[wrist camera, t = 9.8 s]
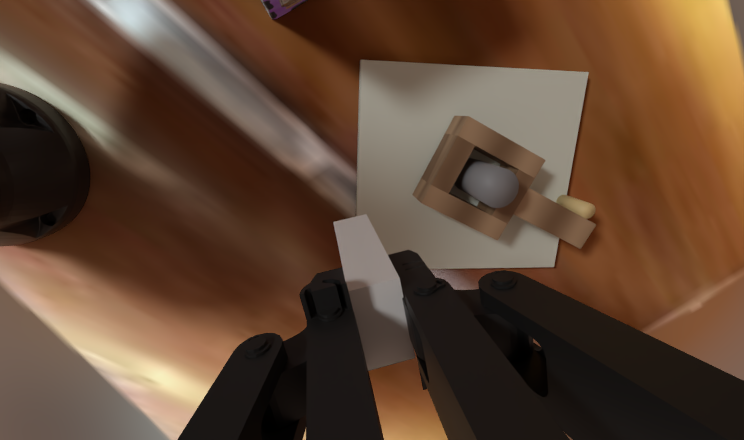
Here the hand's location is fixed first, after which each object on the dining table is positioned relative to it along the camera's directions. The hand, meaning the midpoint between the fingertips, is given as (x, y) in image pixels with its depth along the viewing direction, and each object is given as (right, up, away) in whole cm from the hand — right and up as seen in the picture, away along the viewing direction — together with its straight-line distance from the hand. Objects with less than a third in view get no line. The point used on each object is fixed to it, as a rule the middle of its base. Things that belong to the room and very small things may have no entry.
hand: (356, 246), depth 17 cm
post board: (+11, +6, +26) cm, 29 cm away
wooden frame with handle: (+15, +4, +25) cm, 30 cm away
